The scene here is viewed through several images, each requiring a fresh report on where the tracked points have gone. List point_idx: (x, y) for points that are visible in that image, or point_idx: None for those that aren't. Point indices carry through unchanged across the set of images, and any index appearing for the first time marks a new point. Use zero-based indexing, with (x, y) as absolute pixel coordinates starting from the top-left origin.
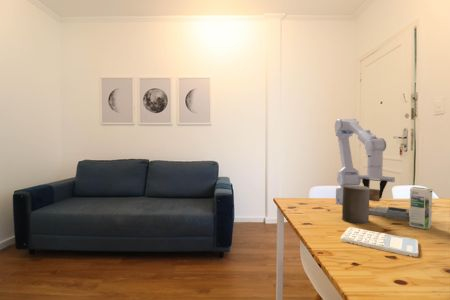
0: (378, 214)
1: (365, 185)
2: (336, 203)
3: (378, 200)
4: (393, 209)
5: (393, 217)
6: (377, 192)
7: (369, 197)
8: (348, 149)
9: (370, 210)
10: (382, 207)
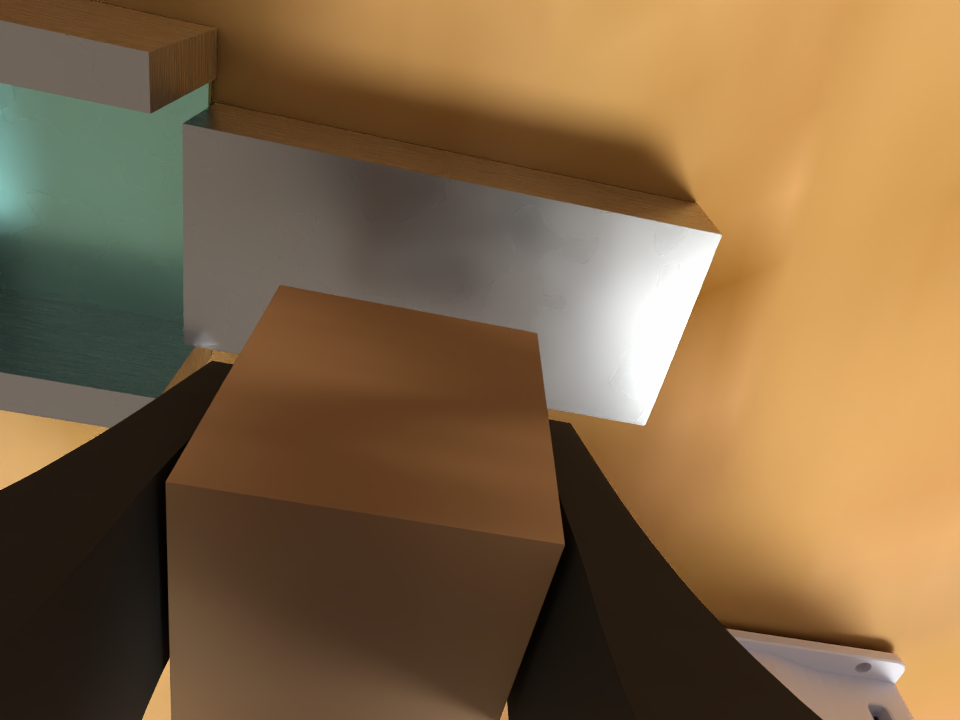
0: (350, 144)
1: (751, 713)
2: (890, 653)
3: (290, 300)
4: (81, 364)
5: (78, 9)
6: (255, 451)
7: (518, 373)
8: None
9: (486, 223)
10: None
